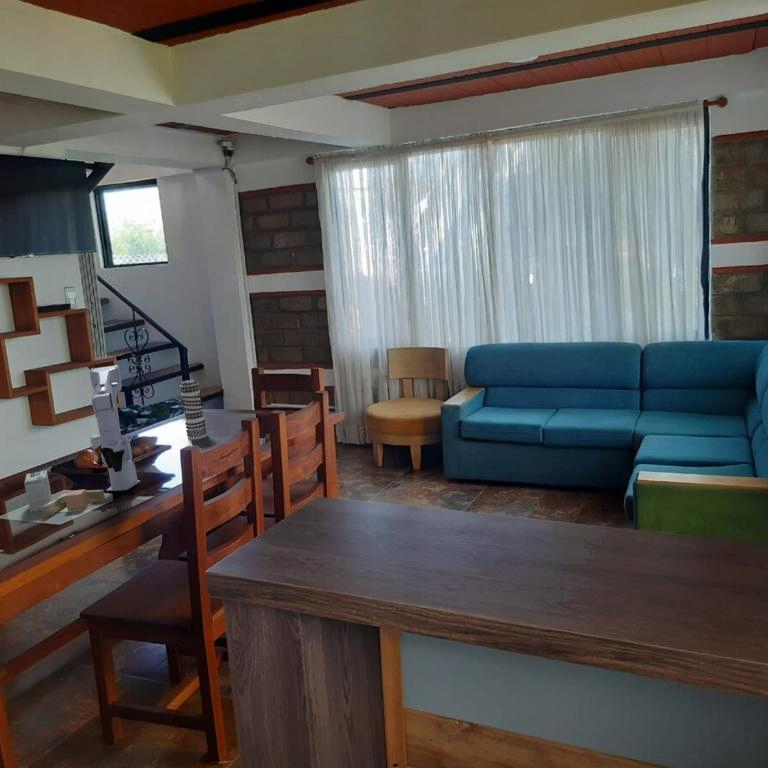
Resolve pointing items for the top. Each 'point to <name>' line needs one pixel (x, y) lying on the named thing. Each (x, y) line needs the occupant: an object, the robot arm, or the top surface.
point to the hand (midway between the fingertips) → (115, 469)
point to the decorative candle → (193, 409)
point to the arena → (61, 503)
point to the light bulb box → (37, 490)
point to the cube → (76, 499)
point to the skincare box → (95, 441)
